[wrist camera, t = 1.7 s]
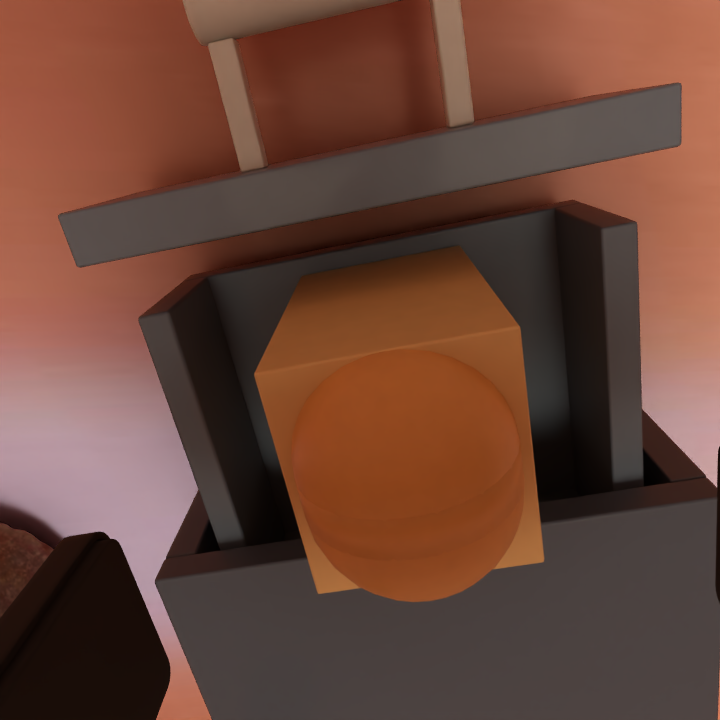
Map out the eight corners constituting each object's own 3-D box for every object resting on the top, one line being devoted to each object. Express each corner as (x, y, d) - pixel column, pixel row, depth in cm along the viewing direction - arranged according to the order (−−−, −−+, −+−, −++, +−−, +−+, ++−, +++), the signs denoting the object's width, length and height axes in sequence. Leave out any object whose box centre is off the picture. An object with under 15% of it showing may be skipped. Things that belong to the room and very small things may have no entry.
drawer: (88, 32, 16) (-30, -8, 11) (585, -88, 14) (684, -190, 10) (253, 535, 22) (221, 645, 17) (612, 481, 20) (680, 582, 16)
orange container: (300, 275, 17) (228, 423, 8) (460, 244, 16) (552, 366, 8) (337, 426, 18) (307, 672, 10) (481, 402, 18) (575, 638, 10)
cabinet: (218, 447, 21) (152, 581, 15) (615, 380, 20) (727, 497, 14) (304, 708, 26) (283, 892, 20) (627, 668, 25) (713, 852, 19)
